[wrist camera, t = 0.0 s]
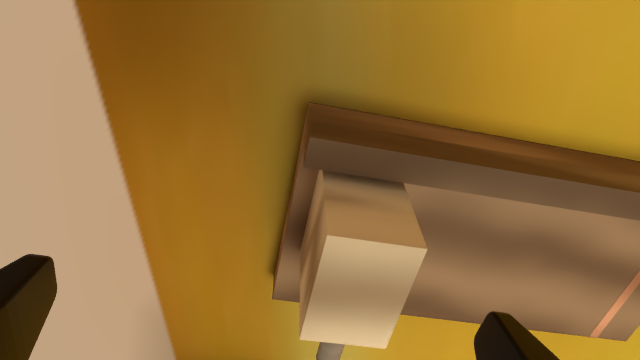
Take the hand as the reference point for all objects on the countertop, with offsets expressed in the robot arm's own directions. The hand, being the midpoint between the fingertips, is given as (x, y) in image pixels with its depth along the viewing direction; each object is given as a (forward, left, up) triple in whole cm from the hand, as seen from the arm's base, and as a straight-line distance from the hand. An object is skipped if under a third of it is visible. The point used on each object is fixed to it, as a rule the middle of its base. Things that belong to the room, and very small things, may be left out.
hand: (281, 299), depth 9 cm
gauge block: (-8, -4, -13) cm, 15 cm away
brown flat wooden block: (-7, -13, -15) cm, 21 cm away
